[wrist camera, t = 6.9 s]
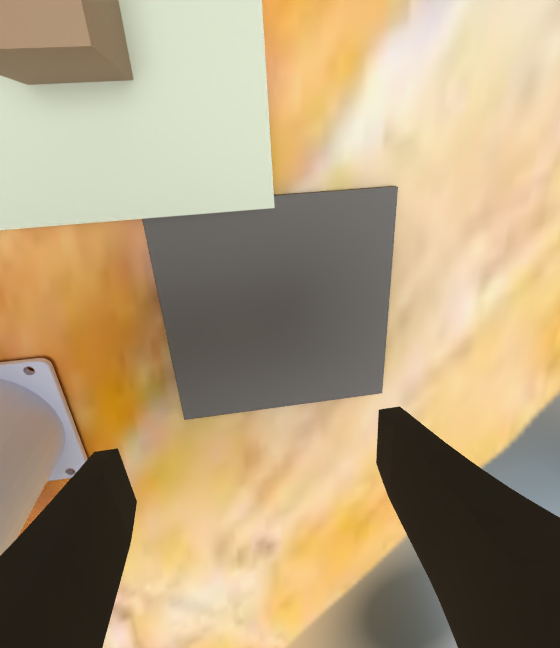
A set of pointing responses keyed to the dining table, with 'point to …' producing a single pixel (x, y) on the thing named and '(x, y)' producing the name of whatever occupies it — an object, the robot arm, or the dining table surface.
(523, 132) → the dining table surface
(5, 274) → the dining table surface
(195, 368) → the mat
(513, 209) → the dining table surface
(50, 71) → the lid
